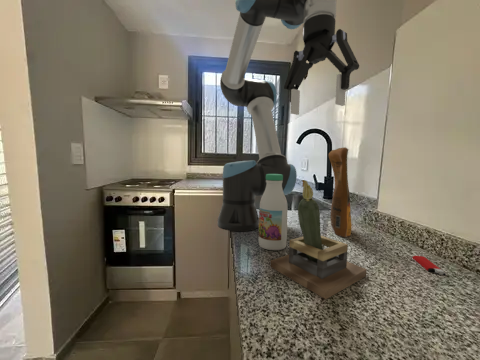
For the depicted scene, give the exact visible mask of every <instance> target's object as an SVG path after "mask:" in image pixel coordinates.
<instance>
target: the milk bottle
mask: <svg viewBox="0 0 480 360" xmlns="http://www.w3.org/2000/svg"><path fill="white" fill-rule="evenodd" d="M282 180H283V175H282V174H266V183H267V184H266V189H265V191H264V193H263V196H261V198H260V202H259V211H258V212H259V213H258V217H259V227H258V245H259V247H260V248H262V249H265V250H266V251H267V250H268V251H282V250H284V249H285V248H286V246H287V240H288V213H289V212H288V201H287V198H286V195H284V192H283V189H282V182H283V181H282Z"/></svg>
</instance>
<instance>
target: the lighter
mask: <svg viewBox="0 0 480 360" xmlns="http://www.w3.org/2000/svg"><path fill="white" fill-rule="evenodd" d="M411 258H412V259H413V261H415V262H416V263H418V264H419V265H420V267H422V268H424V269H425V270H426V271H427V272H428V273H435V275H440V276H447V273H446V272H445V271H444V270H442V268H440V267H439V266H438V265H436V264H434V262H432V261H431V260H429V259H428V258H427V257H426V256H424V255H423V256H422V255H413V256H412V257H411Z"/></svg>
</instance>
